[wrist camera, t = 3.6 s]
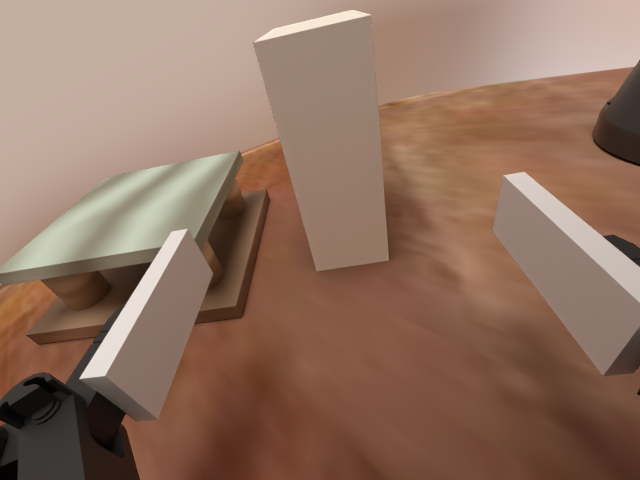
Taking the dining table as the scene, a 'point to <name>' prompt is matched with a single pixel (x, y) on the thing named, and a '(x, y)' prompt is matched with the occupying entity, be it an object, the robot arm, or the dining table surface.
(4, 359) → the dining table surface
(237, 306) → the peg shelf
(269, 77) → the cream rectangular block
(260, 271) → the dining table surface
